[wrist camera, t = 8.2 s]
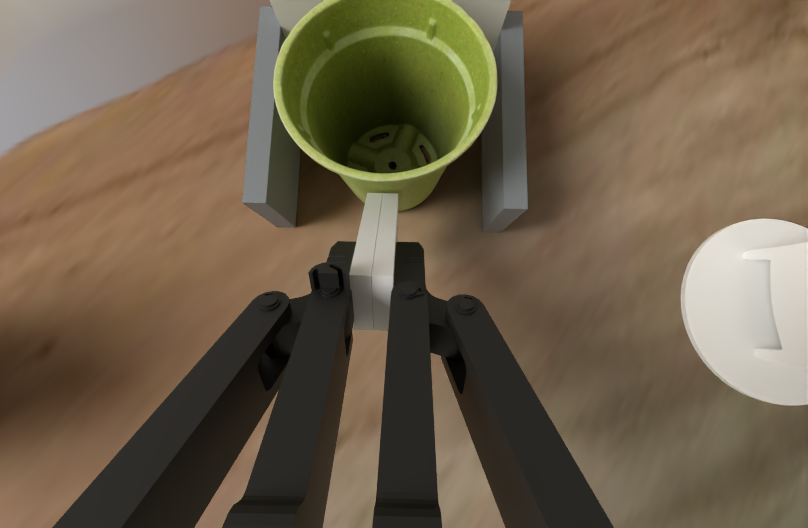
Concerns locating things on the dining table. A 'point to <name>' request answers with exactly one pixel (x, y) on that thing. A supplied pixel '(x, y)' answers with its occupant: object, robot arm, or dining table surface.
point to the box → (501, 137)
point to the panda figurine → (752, 308)
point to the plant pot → (386, 91)
